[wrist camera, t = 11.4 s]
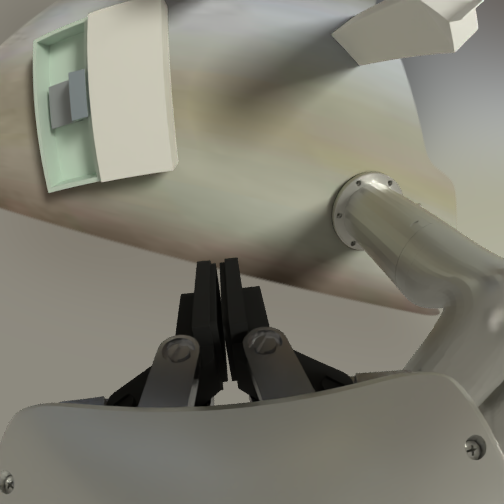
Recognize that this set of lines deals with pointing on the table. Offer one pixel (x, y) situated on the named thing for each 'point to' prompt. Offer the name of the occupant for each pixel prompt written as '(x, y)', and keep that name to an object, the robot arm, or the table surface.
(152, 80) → the cream rectangular block
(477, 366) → the robot arm
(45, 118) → the box
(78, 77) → the slate tile
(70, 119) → the slate tile
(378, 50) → the milk
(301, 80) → the table surface
